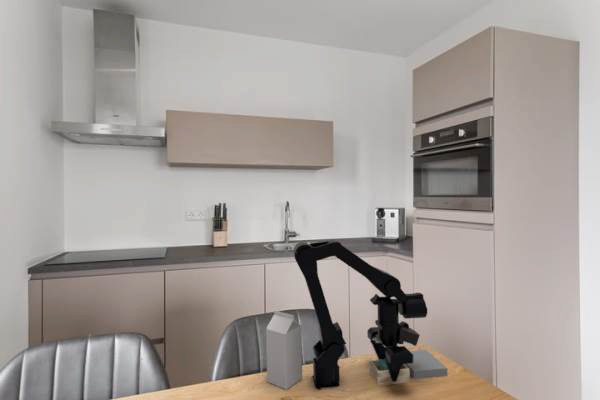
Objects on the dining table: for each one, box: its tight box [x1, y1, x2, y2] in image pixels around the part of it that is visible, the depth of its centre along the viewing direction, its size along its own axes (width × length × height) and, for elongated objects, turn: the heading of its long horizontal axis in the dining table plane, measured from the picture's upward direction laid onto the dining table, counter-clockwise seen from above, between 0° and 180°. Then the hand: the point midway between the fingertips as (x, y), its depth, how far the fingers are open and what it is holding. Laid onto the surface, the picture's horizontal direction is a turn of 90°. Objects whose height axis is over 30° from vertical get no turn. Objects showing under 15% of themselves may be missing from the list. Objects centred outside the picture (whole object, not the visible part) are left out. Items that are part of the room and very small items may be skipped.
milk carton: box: [265, 310, 303, 390], centre depth 96 cm, size 7×7×19 cm
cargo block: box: [379, 360, 388, 371], centre depth 96 cm, size 4×4×4 cm
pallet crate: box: [368, 358, 411, 386], centre depth 96 cm, size 9×7×4 cm
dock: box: [405, 349, 448, 380], centre depth 102 cm, size 10×12×2 cm
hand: (388, 374), depth 96 cm, fingers closed on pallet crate, 7 cm apart
